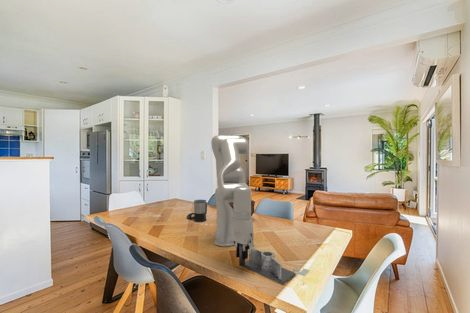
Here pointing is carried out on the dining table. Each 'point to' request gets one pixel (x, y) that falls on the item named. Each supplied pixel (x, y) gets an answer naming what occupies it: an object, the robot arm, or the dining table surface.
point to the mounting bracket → (301, 271)
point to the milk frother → (199, 211)
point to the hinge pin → (241, 262)
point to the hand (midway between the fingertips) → (242, 257)
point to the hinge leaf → (273, 267)
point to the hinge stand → (257, 267)
